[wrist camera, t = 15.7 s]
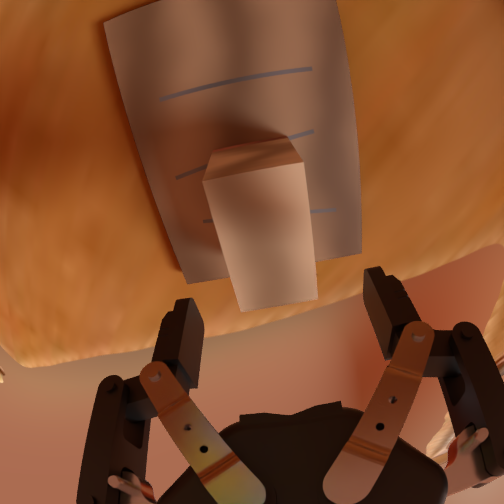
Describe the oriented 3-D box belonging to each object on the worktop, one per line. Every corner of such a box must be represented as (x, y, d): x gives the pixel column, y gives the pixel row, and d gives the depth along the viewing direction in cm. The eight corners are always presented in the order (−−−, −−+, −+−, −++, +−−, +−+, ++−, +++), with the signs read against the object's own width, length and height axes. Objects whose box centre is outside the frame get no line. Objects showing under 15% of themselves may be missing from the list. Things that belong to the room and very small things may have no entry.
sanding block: (286, 136, 19) (303, 162, 14) (302, 247, 24) (317, 298, 19) (212, 150, 20) (202, 181, 15) (241, 258, 24) (241, 312, 20)
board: (323, -21, 14) (329, -27, 12) (356, 243, 26) (361, 253, 25) (111, 24, 15) (103, 22, 14) (189, 273, 27) (187, 284, 26)
